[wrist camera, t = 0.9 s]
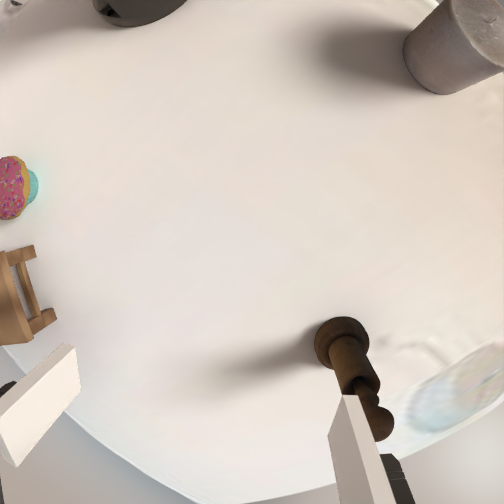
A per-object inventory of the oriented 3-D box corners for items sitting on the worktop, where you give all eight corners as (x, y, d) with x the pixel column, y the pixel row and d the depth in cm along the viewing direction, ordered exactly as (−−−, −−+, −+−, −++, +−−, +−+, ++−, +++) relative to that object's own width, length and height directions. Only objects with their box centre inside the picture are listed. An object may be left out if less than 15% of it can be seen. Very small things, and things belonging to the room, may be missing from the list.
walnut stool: (-10, 260, 39) (-43, 271, 32) (34, 242, 38) (-3, 252, 30) (13, 328, 41) (-17, 347, 34) (59, 320, 40) (27, 342, 32)
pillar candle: (413, 19, 30) (462, -36, 15) (470, 59, 30) (533, 24, 15) (392, 68, 32) (447, 17, 17) (453, 110, 32) (526, 85, 17)
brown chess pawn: (331, 370, 39) (361, 471, 22) (303, 337, 38) (324, 436, 21) (373, 341, 38) (428, 430, 21) (348, 305, 37) (400, 388, 20)
